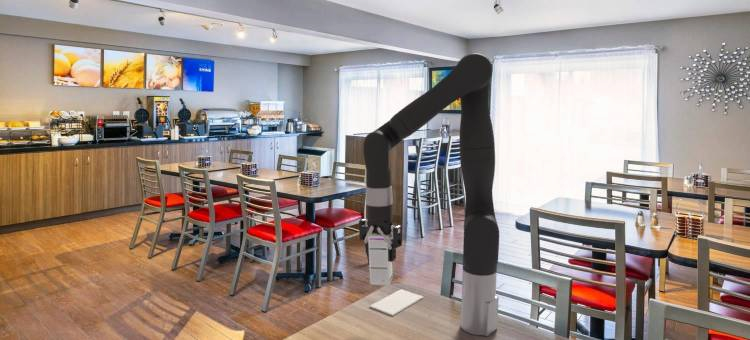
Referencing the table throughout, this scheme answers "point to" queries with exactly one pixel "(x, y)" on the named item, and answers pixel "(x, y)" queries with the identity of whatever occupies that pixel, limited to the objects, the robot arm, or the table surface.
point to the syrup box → (379, 260)
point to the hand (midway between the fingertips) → (380, 257)
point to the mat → (396, 302)
